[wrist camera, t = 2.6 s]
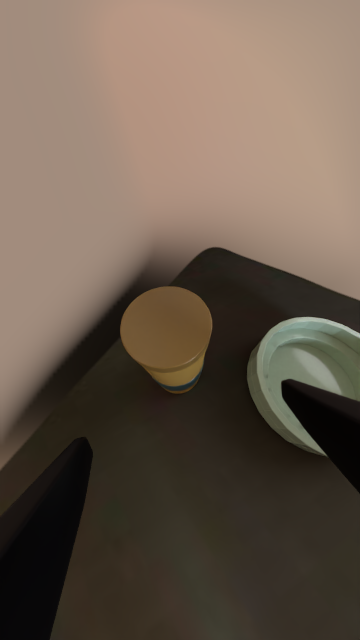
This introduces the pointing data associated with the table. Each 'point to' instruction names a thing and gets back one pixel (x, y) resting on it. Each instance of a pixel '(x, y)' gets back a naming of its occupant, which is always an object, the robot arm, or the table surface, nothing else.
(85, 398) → the table surface
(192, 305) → the tea tin
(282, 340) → the bowl
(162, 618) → the table surface
